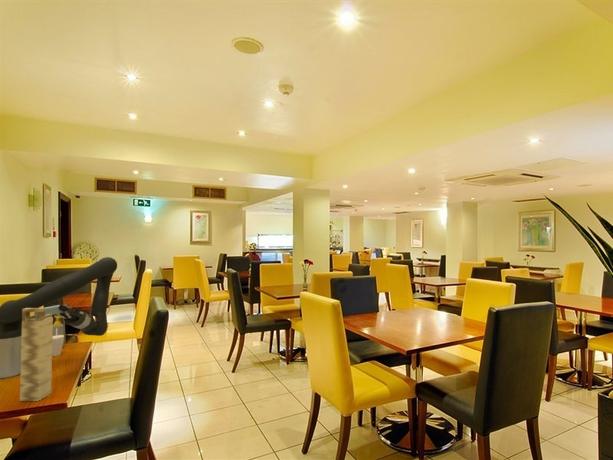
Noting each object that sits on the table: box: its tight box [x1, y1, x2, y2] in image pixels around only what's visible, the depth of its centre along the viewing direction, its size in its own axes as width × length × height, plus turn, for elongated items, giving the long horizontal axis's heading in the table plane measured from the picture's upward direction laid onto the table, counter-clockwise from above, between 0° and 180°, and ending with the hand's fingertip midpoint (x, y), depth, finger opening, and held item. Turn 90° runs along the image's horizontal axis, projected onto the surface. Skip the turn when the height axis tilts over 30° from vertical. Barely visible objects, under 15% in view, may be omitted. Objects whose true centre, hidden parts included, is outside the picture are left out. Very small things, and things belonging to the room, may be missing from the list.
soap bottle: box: [52, 315, 65, 349], centre depth 191 cm, size 7×7×18 cm
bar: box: [33, 304, 68, 317], centre depth 140 cm, size 3×14×3 cm, turn 2°
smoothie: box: [52, 328, 65, 357], centre depth 180 cm, size 6×6×14 cm
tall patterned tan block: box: [19, 307, 54, 402], centre depth 132 cm, size 7×6×35 cm
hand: (55, 306), depth 142 cm, fingers closed on bar, 3 cm apart
